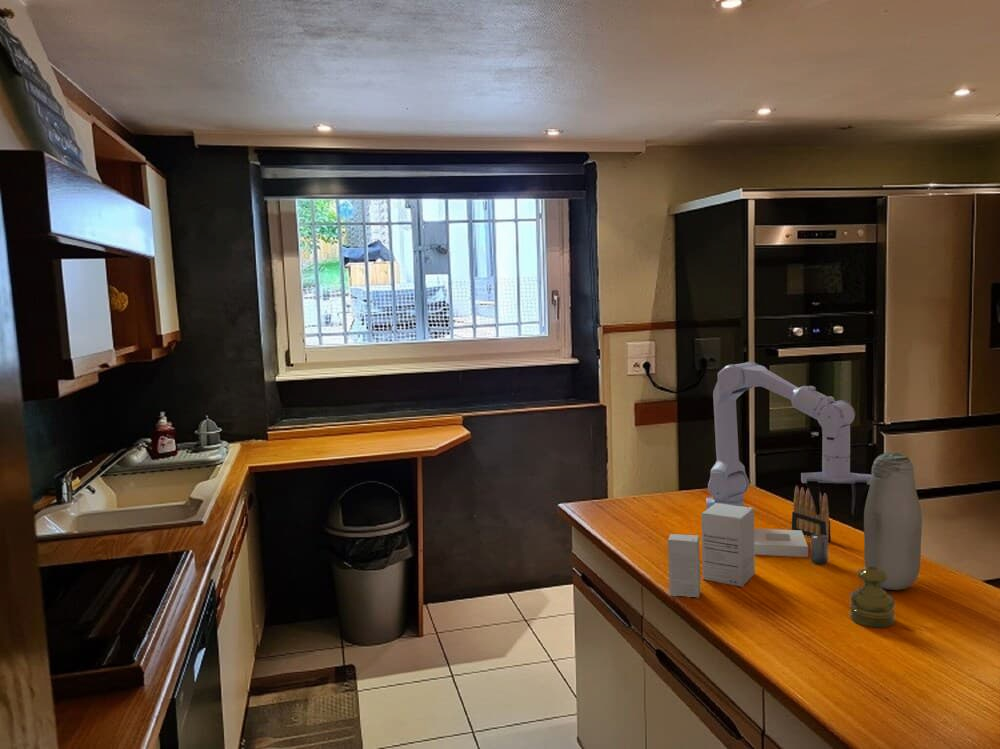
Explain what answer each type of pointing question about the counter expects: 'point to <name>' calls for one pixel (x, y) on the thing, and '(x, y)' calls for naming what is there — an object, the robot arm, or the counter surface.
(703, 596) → the counter surface
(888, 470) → the grey bottle
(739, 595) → the counter surface
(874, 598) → the olive green knobbed piece
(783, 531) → the socket block
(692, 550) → the skincare box
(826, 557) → the metal peg
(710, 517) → the supplement box
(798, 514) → the ammunition clip
